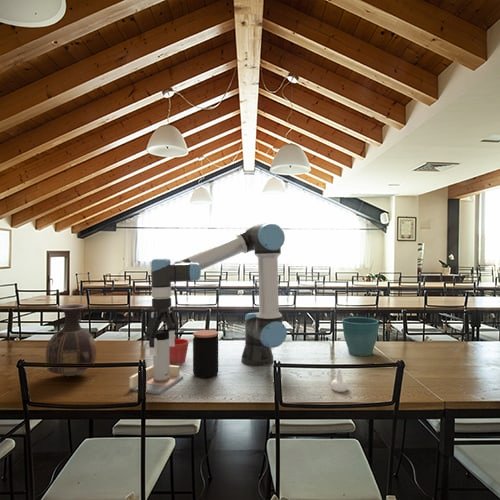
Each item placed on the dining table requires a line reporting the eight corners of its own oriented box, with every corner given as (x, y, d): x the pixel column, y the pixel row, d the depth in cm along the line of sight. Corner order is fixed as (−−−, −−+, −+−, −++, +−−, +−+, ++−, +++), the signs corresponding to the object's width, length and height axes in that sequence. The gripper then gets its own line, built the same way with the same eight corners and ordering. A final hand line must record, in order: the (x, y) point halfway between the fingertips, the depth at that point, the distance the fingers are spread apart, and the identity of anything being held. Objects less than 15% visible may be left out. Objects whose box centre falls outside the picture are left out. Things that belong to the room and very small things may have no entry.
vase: (39, 375, 161) (39, 304, 161) (87, 366, 174) (87, 300, 174) (53, 390, 144) (52, 311, 144) (104, 379, 156) (104, 306, 156)
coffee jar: (223, 373, 163) (223, 331, 163) (208, 380, 154) (208, 336, 154) (203, 369, 169) (203, 329, 169) (187, 376, 160) (187, 333, 160)
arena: (183, 378, 157) (183, 366, 157) (159, 394, 140) (159, 380, 140) (155, 375, 161) (155, 363, 161) (129, 390, 144) (129, 377, 144)
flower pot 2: (340, 356, 189) (340, 322, 189) (343, 347, 206) (343, 316, 206) (378, 359, 183) (378, 324, 183) (378, 350, 200) (378, 318, 200)
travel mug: (171, 381, 150) (170, 331, 149) (153, 383, 148) (153, 332, 147) (169, 376, 156) (169, 327, 155) (153, 378, 154) (152, 328, 153)
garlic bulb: (329, 387, 148) (327, 367, 148) (345, 386, 148) (343, 365, 148) (333, 394, 142) (331, 372, 142) (350, 392, 142) (348, 371, 142)
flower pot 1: (183, 365, 174) (183, 344, 174) (161, 364, 176) (161, 343, 176) (191, 359, 185) (191, 339, 185) (170, 358, 187) (170, 338, 187)
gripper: (169, 293, 165) (170, 342, 165) (134, 301, 141) (136, 358, 141) (184, 293, 162) (185, 343, 162) (152, 302, 139) (153, 360, 139)
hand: (162, 350), depth 152 cm, fingers open, 13 cm apart
